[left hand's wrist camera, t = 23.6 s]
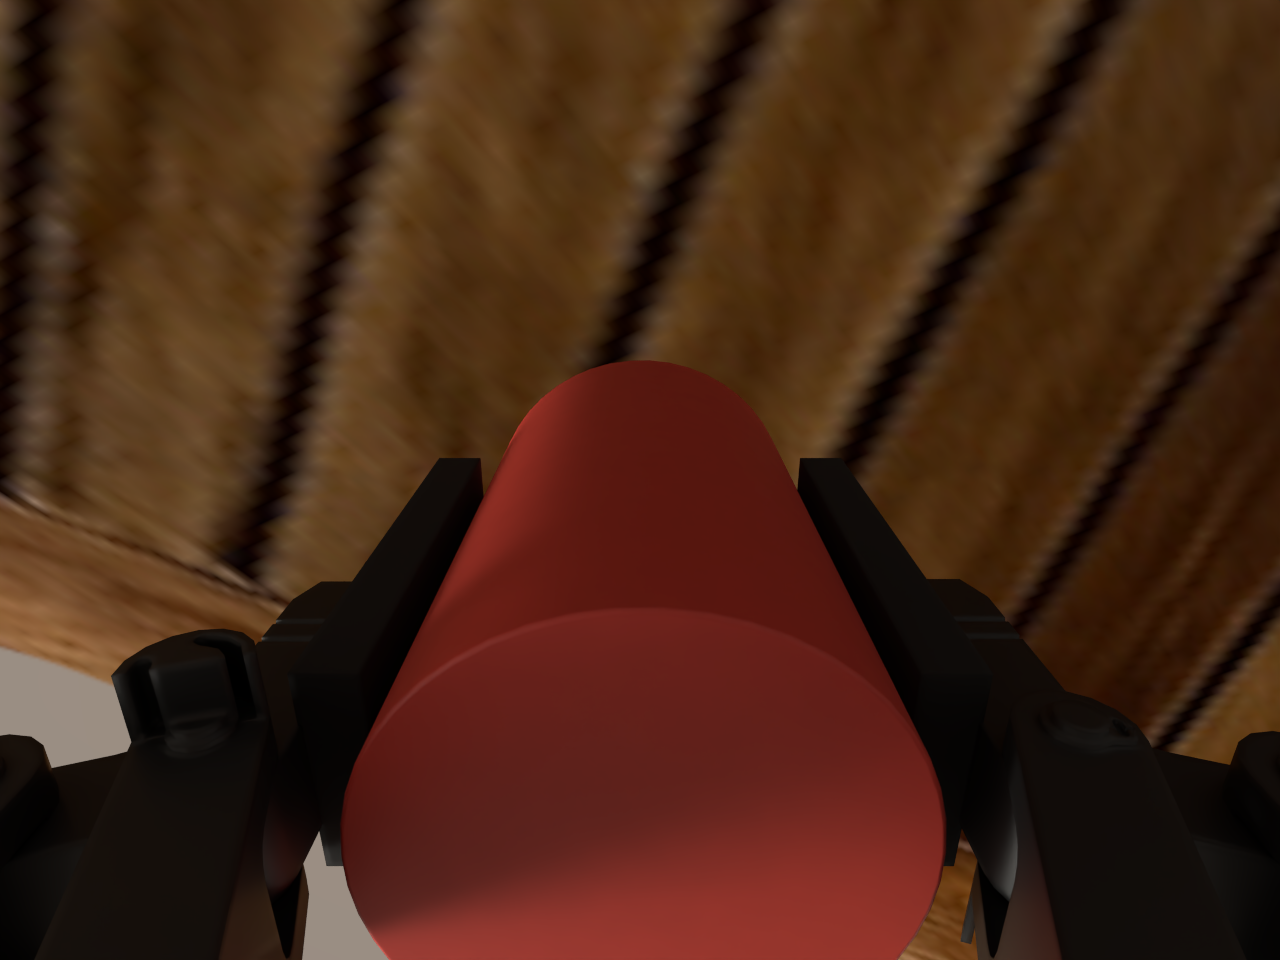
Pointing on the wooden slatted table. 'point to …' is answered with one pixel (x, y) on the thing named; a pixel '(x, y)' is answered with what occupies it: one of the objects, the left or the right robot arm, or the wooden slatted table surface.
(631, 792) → the canister
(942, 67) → the wooden slatted table surface
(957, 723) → the left robot arm
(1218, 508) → the wooden slatted table surface
